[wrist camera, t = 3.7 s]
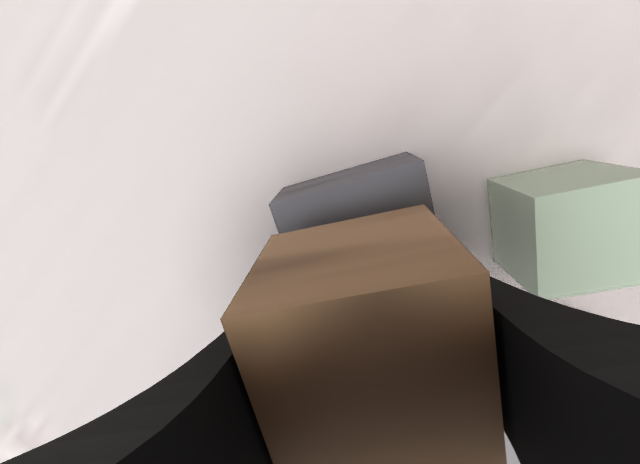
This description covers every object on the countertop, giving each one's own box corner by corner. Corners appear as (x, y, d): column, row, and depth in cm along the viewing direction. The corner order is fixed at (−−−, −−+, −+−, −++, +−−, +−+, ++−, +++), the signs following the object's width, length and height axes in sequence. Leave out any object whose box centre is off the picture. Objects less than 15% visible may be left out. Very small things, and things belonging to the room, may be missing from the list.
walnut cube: (443, 337, 12) (507, 478, 7) (307, 359, 13) (286, 500, 8) (423, 204, 11) (489, 271, 6) (271, 235, 11) (220, 319, 7)
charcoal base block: (430, 265, 19) (452, 302, 15) (319, 292, 20) (313, 333, 16) (405, 151, 17) (423, 160, 13) (284, 186, 18) (268, 204, 14)
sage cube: (581, 244, 18) (656, 282, 14) (493, 259, 19) (538, 301, 14) (581, 159, 17) (664, 172, 12) (486, 178, 17) (534, 198, 13)
